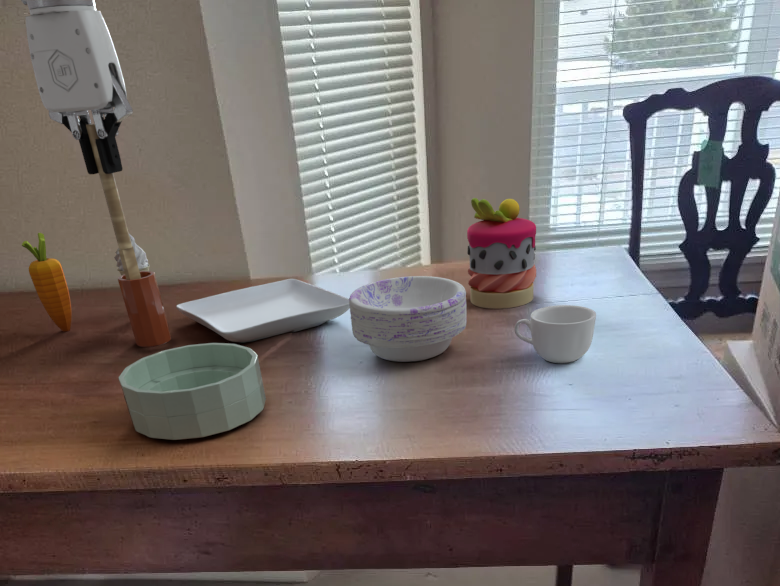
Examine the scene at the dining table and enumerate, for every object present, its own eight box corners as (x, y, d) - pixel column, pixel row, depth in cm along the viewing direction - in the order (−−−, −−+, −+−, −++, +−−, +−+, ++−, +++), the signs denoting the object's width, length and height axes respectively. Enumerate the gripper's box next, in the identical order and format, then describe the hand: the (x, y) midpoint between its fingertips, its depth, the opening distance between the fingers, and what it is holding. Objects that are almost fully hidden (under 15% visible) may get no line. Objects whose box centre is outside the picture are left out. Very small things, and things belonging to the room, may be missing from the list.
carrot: (57, 340, 115) (22, 239, 106) (46, 334, 118) (11, 236, 109) (88, 331, 117) (56, 232, 109) (76, 326, 120) (44, 229, 112)
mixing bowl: (107, 438, 82) (90, 388, 79) (182, 386, 94) (170, 340, 90) (223, 449, 77) (211, 396, 74) (288, 393, 89) (279, 345, 86)
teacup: (599, 348, 93) (602, 306, 90) (585, 370, 88) (588, 326, 85) (523, 343, 97) (523, 302, 94) (505, 364, 92) (505, 321, 89)
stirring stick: (135, 287, 103) (92, 124, 92) (125, 287, 103) (81, 125, 92) (145, 282, 105) (104, 122, 94) (135, 282, 105) (93, 123, 94)
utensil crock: (130, 349, 108) (110, 280, 103) (150, 337, 112) (132, 270, 106) (159, 350, 107) (140, 280, 101) (178, 339, 110) (161, 270, 105)
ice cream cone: (156, 310, 125) (131, 216, 116) (167, 316, 121) (142, 219, 113) (127, 317, 122) (99, 222, 114) (137, 324, 119) (109, 225, 110)
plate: (295, 295, 126) (292, 274, 124) (359, 321, 111) (356, 298, 109) (177, 324, 117) (172, 303, 115) (229, 357, 102) (224, 333, 100)
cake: (501, 286, 121) (501, 186, 112) (549, 296, 114) (553, 191, 105) (454, 301, 116) (450, 198, 107) (502, 313, 109) (501, 204, 100)
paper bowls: (441, 376, 90) (438, 311, 85) (334, 365, 96) (326, 304, 91) (483, 335, 101) (482, 276, 97) (385, 328, 107) (380, 272, 102)
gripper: (-16, 4, 85) (38, 178, 95) (94, -10, 81) (138, 175, 91) (30, 6, 91) (76, 170, 101) (135, -7, 86) (172, 166, 97)
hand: (105, 171), depth 96 cm, fingers closed on stirring stick, 1 cm apart
